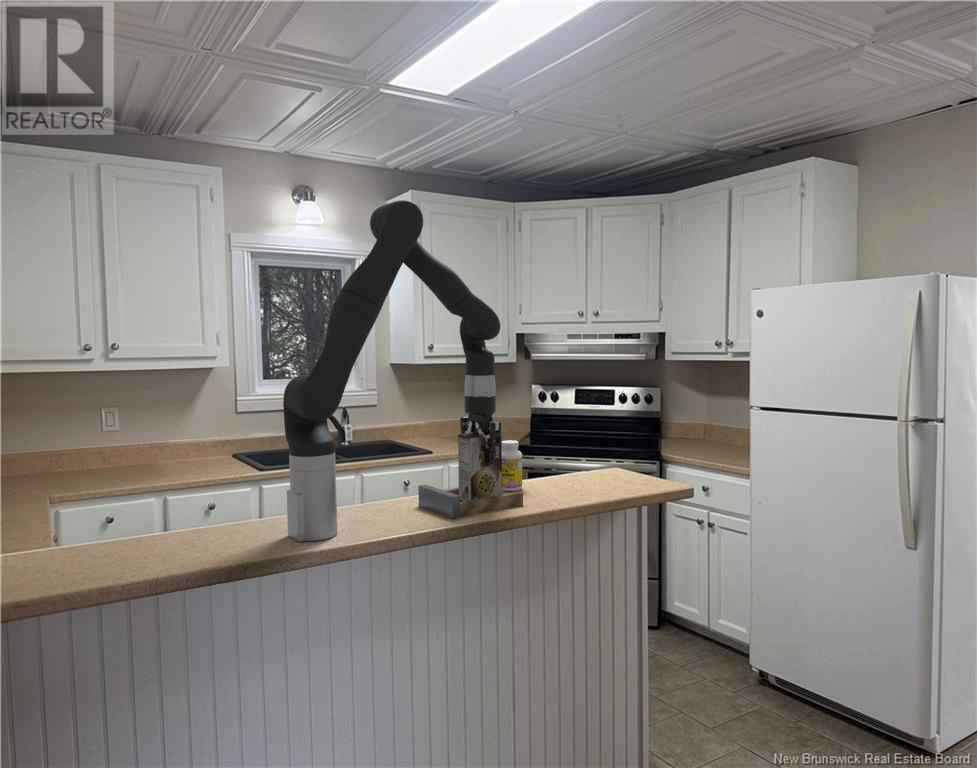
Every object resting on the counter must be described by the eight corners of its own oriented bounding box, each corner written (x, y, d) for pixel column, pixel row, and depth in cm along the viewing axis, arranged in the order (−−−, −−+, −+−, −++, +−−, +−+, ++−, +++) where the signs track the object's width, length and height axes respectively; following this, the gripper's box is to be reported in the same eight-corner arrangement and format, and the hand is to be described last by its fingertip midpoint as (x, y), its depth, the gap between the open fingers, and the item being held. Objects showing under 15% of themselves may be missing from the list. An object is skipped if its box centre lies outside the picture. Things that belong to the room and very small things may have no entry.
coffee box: (489, 494, 172) (489, 430, 171) (503, 499, 167) (503, 434, 166) (457, 499, 168) (457, 433, 167) (470, 504, 162) (470, 436, 161)
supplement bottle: (493, 490, 182) (492, 442, 181) (504, 485, 188) (503, 439, 187) (515, 493, 179) (515, 444, 178) (526, 488, 184) (526, 440, 183)
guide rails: (460, 517, 155) (459, 504, 155) (426, 504, 167) (426, 492, 166) (523, 504, 166) (523, 492, 166) (487, 493, 178) (487, 482, 177)
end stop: (453, 519, 154) (452, 497, 153) (418, 506, 166) (418, 485, 165) (460, 517, 155) (460, 495, 154) (425, 504, 167) (425, 484, 166)
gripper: (450, 392, 169) (451, 459, 170) (485, 396, 158) (485, 468, 159) (475, 391, 174) (475, 456, 175) (510, 394, 162) (510, 464, 163)
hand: (480, 461), depth 167 cm, fingers closed on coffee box, 6 cm apart
